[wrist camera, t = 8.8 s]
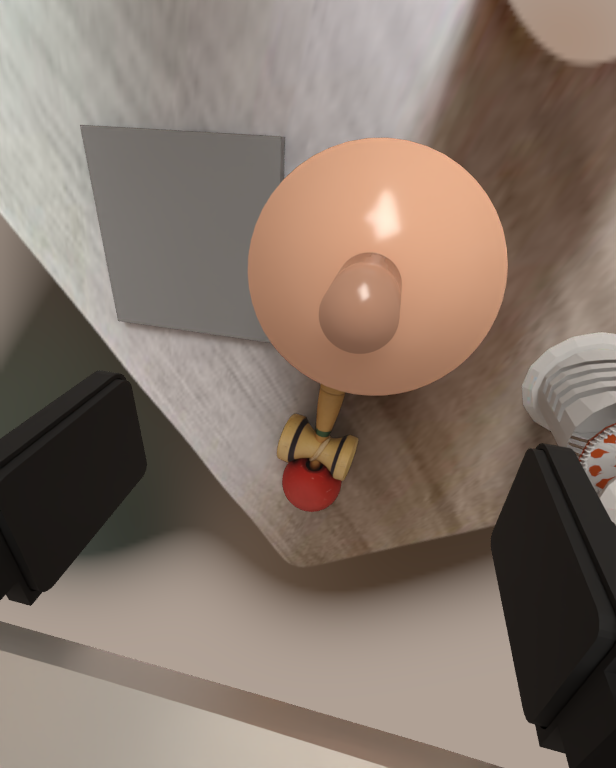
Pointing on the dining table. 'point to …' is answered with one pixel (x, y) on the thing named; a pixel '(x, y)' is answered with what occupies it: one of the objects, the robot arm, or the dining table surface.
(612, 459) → the french press
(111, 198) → the mat
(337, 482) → the kendama
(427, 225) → the lid
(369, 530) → the dining table surface
